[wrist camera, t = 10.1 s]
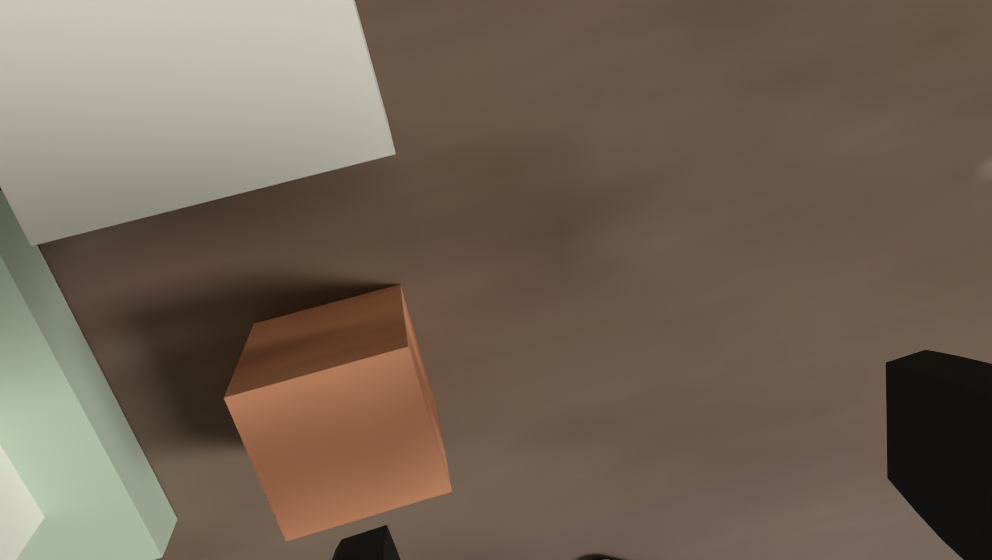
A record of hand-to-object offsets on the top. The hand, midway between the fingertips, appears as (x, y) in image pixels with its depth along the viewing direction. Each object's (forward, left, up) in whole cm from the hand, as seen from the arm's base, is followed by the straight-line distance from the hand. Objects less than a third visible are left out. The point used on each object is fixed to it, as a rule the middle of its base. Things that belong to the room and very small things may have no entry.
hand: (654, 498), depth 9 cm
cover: (+3, +9, -10) cm, 14 cm away
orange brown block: (-4, +3, -10) cm, 11 cm away
